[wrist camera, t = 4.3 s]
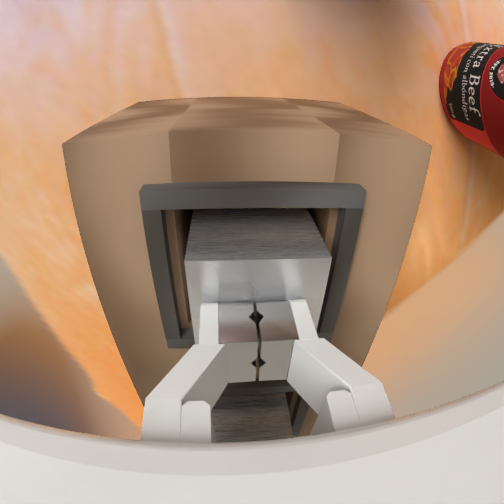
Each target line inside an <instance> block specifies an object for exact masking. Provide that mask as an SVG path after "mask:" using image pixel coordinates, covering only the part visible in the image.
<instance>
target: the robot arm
mask: <svg viewBox="0 0 504 504" xmlns="http://www.w3.org/2000/svg"><path fill="white" fill-rule="evenodd" d="M254 314H255V322H254ZM256 358H257V363H256V360H255V359H256ZM256 364H257V371H258V378H259V381H266V380H285V379H287V381H288V383H289V384H290V385H291V386H292V387H293V388H294V389H295V390H296V391H297V392H298V394H299V395H300V396H301V397H302V398H303V399H304V400H305V401H306V402H307V403H308V404H309V406H310V407H311V408H312V409H313V410H314V411H315V412H316V413H317V414H318V417H317V420H316V422H315V424H314V427H313V429H312V431H311V433H310V436H302V437H294V438H285V439H275V440H264V441H249V442H228V443H216V437H215V432H214V426H213V420H212V414H211V410H212V408H213V407H214V405H215V403H216V402H217V400H218V399H219V397H220V395H221V394H222V392H223V391H224V389H225V387H226V386H227V383H235V382H249V381H255V380H256ZM0 504H504V381H502V382H499V383H497V384H495V385H493V386H490V387H488V388H485V389H483V390H481V391H478V392H476V393H473V394H470V395H468V396H465V397H463V398H460V399H457V400H454V401H452V402H449V403H446V404H443V405H440V406H437V407H434V408H430V409H428V410H424V411H421V412H418V413H414V414H410V415H407V416H403V417H400V418H395V416H394V413H393V410H392V408H391V405H390V403H389V400H388V397H387V395H386V392H385V390H384V388H383V385H382V383H381V381H379V380H378V379H377V378H375V377H374V376H372V375H371V374H370V373H369V372H367V371H366V370H365V369H363V368H362V367H361V366H359V365H358V364H357V363H356V362H354V361H353V360H352V359H350V358H349V357H348V356H346V355H345V354H344V353H343V352H341V351H340V350H339V349H337V348H336V347H335V346H333V345H332V344H331V343H330V342H328V341H327V340H326V339H324V338H319V337H318V334H317V331H316V328H315V325H314V322H313V319H312V316H311V313H310V310H309V307H308V304H307V301H306V300H305V299H297V300H288V301H287V300H285V301H267V302H255V307H254V308H253V303H252V302H228V303H201V307H200V327H199V344H197V345H193V346H192V347H191V348H190V349H189V350H188V352H187V353H186V354H185V355H184V356H183V357H182V358H181V359H180V361H179V362H178V363H177V364H176V365H175V366H174V367H173V368H172V369H171V371H170V372H169V373H168V374H167V375H166V376H165V377H164V378H163V380H162V381H161V382H160V383H159V384H158V385H157V386H156V387H155V388H154V389H153V391H152V392H151V393H150V394H149V395H148V396H147V397H146V399H145V407H144V414H143V422H142V431H141V440H130V439H121V438H113V437H105V436H98V435H91V434H84V433H79V432H72V431H67V430H62V429H58V428H53V427H48V426H44V425H39V424H35V423H31V422H27V421H23V420H19V419H16V418H13V417H9V416H6V415H2V414H0Z"/></svg>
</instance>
